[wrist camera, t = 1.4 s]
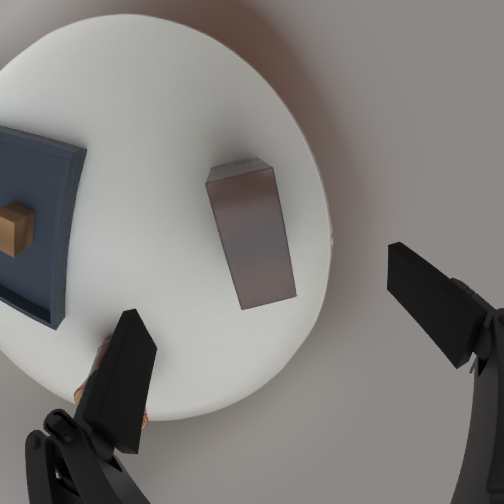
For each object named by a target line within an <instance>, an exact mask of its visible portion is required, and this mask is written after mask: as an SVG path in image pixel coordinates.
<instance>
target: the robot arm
mask: <svg viewBox="0 0 504 504" xmlns="http://www.w3.org/2000/svg"><path fill="white" fill-rule="evenodd" d="M387 290H388V291H389V292H390V293H391V294H392V295H393V296H394V297H395V298H396V299H397V300H398V302H399V303H400V304H401V305H402V306H403V307H404V308H405V309H406V310H407V311H408V312H409V314H410V315H411V316H412V317H413V318H414V319H415V320H416V321H417V323H418V324H419V325H420V326H421V327H422V328H423V329H424V330H425V332H426V333H427V334H428V335H429V336H430V338H431V339H432V340H433V341H434V342H435V343H436V345H437V346H438V347H439V348H440V349H441V351H442V352H443V353H444V354H445V355H446V357H447V358H448V359H449V360H450V362H451V363H452V364H453V365H454V367H455V368H456V369H458V368H459V367H461V366H462V365H464V364H465V363H467V362H468V361H469V359H470V357H471V355H472V352H474V353H475V354H476V355H477V356H476V358H475V360H474V363H473V365H472V367H471V369H470V373H472V371H473V369H474V368H475V373H474V392H473V403H472V413H471V421H470V428H469V434H468V440H467V445H466V450H465V454H464V459H463V463H462V467H461V471H460V475H459V479H458V482H457V485H456V488H455V492H454V495H453V497H452V500H451V503H450V504H504V308H500V309H497V310H496V309H494V308H493V307H492V306H491V305H490V304H489V303H488V302H486V301H485V300H484V299H483V298H482V297H480V296H479V295H478V294H477V293H476V294H475V292H474V291H473V290H472V289H470V288H469V287H468V286H467V285H466V284H465V283H463V282H462V281H460V280H457V279H455V278H451V279H449V278H448V277H447V276H446V275H444V274H443V273H442V272H440V271H439V270H438V269H437V268H435V267H434V266H433V265H431V264H430V263H428V262H427V261H426V260H425V259H423V258H422V257H421V256H419V255H418V254H416V253H415V252H414V251H412V250H411V249H409V248H408V247H407V246H405V245H404V244H403V243H401V242H397V243H393V244H390V245H388V280H387ZM156 351H157V347H156V345H155V343H154V341H153V340H152V338H151V336H150V334H149V333H148V331H147V329H146V327H145V325H144V323H143V321H142V320H141V318H140V316H139V314H138V312H137V310H136V309H132V310H127V311H123V313H122V315H121V317H120V320H119V322H118V324H117V326H116V329H115V331H114V333H113V336H112V338H111V340H110V343H109V345H108V347H107V350H106V352H105V355H104V357H103V360H102V362H101V365H100V367H99V370H94V372H93V373H92V374H91V375H90V377H89V378H88V380H87V382H86V385H85V389H84V390H83V393H82V396H81V398H80V401H79V404H78V407H77V410H76V413H75V415H74V419H73V418H71V416H70V415H69V414H68V413H66V412H65V411H64V410H62V409H55V410H53V411H51V412H50V413H49V414H48V415H47V417H46V418H45V420H44V424H43V425H44V430H45V431H46V432H48V433H49V434H50V435H51V436H46V435H45V434H44V433H43V432H42V431H40V430H34V431H32V432H31V433H30V434H29V435H28V437H27V439H26V443H25V458H26V475H27V486H28V494H29V501H30V504H150V502H149V501H148V500H147V498H146V497H145V496H144V495H143V493H142V492H141V491H140V489H139V488H138V487H137V485H136V484H135V483H134V481H133V480H132V478H131V477H130V476H129V474H128V472H127V471H126V469H125V468H124V466H123V465H122V463H121V462H120V460H119V459H118V457H117V456H116V455H115V454H114V447H115V448H116V449H118V450H119V451H120V452H122V453H128V454H138V449H139V442H140V436H141V429H142V423H143V417H144V411H145V406H146V400H147V395H148V389H149V384H150V379H151V374H152V370H153V365H154V360H155V356H156ZM56 473H58V475H59V479H58V478H56Z"/></svg>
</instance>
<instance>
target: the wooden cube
mask: <svg viewBox="0 0 504 504" xmlns="http://www.w3.org/2000/svg"><path fill="white" fill-rule="evenodd" d="M34 215H35V211H33V210H31V209H29V208H26V207H24V206H22V205H19V204H17V203H15V202H11V203H9V204H7V205H5V206H3V207H1V208H0V250H1V251H2V252H4V253H6V254H8V255H10V256H12V257H15V256H17V255H18V254H19V253H20V252H22V251H23V250H24V249H25V248H27V247H28V246H29V245H31V244H32V243H33V227H34Z"/></svg>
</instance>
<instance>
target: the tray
mask: <svg viewBox="0 0 504 504" xmlns="http://www.w3.org/2000/svg"><path fill="white" fill-rule="evenodd" d="M86 152H87V149H84V148H80V147H77V146H74V145H70V144H67V143H63V142H60V141H56V140H53V139H49V138H45V137H42V136H38V135H34V134H30V133H27V132H23V131H19V130H15V129H11V128H7V127H3V126H0V208H1V207H3V206H5V205H7V204H9V203H11V202H15V203H17V204H19V205H22V206H24V207H26V208H29V209H31V210H33V211H35V215H34V227H33V243H32V244H31V245H29V246H28V247H27V248H25V249H24V250H23V251H22V252H20V253H19V254H18V255H17V256H15V257H12V256H10V255H8V254H6V253H4V252H2V251H1V250H0V300H1V301H2V302H4V303H6V304H7V305H9V306H11V307H12V308H14V309H16V310H18V311H19V312H21V313H23V314H25V315H27V316H28V317H30V318H32V319H34V320H36V321H38V322H40V323H42V324H44V325H46V326H48V327H50V328H52V329H54V330H57V328H58V327H59V325H60V324H61V322H62V321H63V319H64V318H65V284H66V267H67V255H68V245H69V237H70V229H71V222H72V216H73V210H74V204H75V199H76V194H77V189H78V184H79V180H80V175H81V171H82V167H83V163H84V159H85V155H86Z"/></svg>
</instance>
